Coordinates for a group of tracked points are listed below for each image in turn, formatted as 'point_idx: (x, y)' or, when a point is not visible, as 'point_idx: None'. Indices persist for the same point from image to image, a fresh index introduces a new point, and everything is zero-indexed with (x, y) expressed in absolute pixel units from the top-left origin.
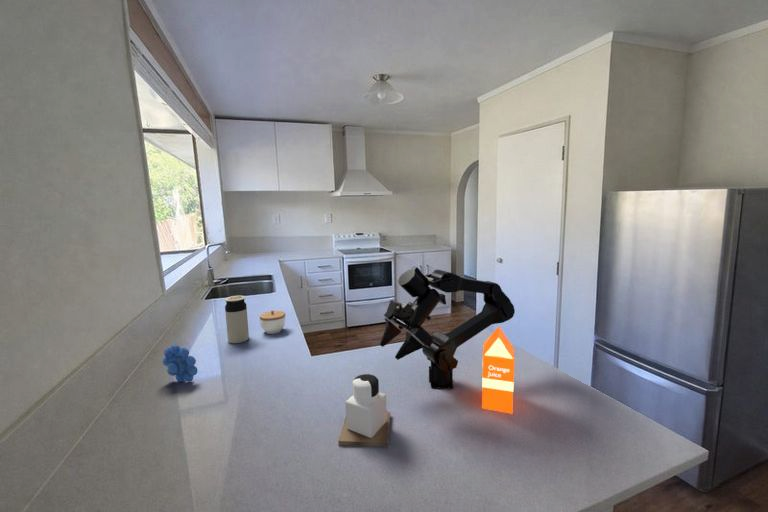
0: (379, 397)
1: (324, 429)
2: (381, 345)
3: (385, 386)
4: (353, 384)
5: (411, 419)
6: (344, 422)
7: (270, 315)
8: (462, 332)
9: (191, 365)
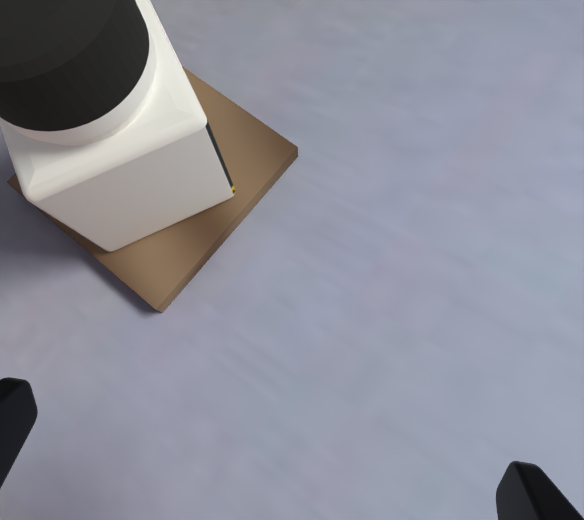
0: (22, 142)
1: (268, 46)
2: (505, 477)
3: (419, 465)
4: None
5: (71, 383)
6: (231, 103)
7: None
8: None
9: None
